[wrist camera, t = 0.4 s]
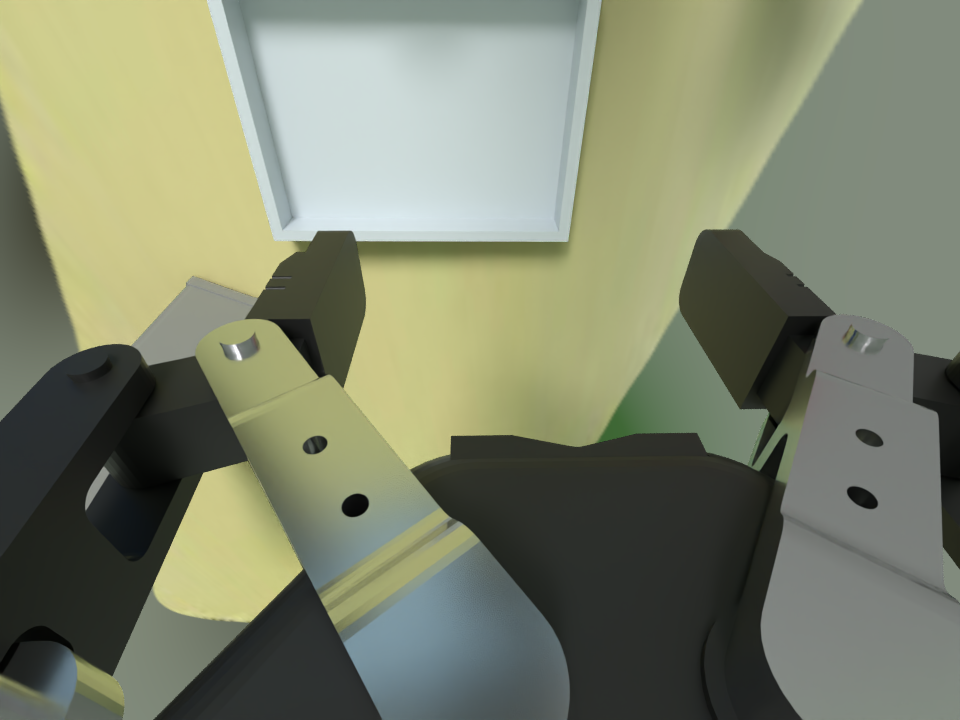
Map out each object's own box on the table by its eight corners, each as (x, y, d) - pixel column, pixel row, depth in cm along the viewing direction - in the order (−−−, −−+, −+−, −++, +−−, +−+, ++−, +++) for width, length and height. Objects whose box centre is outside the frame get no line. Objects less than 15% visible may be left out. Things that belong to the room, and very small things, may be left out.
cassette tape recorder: (244, 402, 49) (99, 676, 30) (181, 384, 47) (-16, 663, 28) (268, 300, 42) (93, 579, 22) (194, 274, 40) (-67, 553, 20)
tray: (218, -40, 27) (194, -43, 25) (594, -34, 28) (606, -35, 25) (286, 224, 37) (274, 240, 35) (561, 225, 38) (567, 241, 35)
